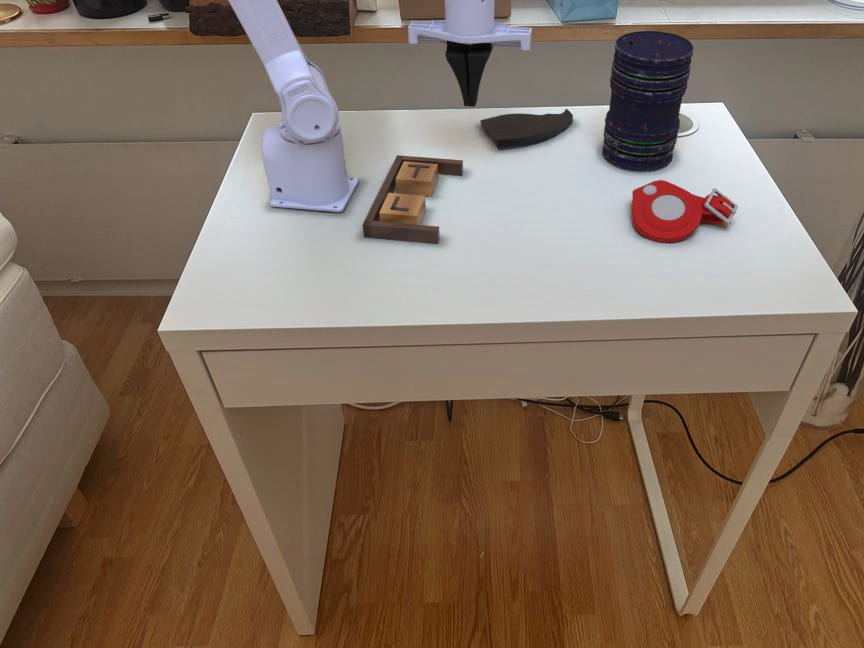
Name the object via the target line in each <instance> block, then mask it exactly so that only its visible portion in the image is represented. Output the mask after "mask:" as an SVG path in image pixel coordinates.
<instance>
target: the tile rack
mask: <svg viewBox="0 0 864 648" xmlns="http://www.w3.org/2000/svg"><path fill="white" fill-rule="evenodd" d="M404 161H406V162H419V163H432V164H438V175H445V176H446V175H447V176H459V177H462V176H463V174H464V160H463V159H452V158H439V157H438V158H437V157H425V156H412V155H401V154H400V155H399V154H397V155H396V156H395V158H394V160H393V162H392V164H391V166H390V168H389V170H388V173H387V174H386V176H385V178H384V180H383V182H382V184H381V186H380V187H379V191H378V193H377V195H376V196H375V198H374V200H373V203H372V205H371V206H370V208H369V210H368V212H367V215H366V216H365V218H364V221H363V223H362V232H363V237H364V238H368V239H369V238H370V239H378V240H379V239H380V240H391V241H402V242H413V243H422V244H423V243H424V244H435V245H438V244H439V242H440V226H438V225H437V226H436V225H425V224H421V225H416V224H404V223H393V222H381V221H380V215H379V212H380V210H381V208H382V206H383V204H384V202H385V200H386V198H387V195H388V193H395V190H396V177H397V175H398V173H399V170H400V168H401V166H402V164H403V162H404Z"/></svg>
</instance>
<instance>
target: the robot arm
mask: <svg viewBox="0 0 864 648" xmlns="http://www.w3.org/2000/svg"><path fill="white" fill-rule="evenodd" d="M227 1H228V3H229V4H230V6H231V8H232V10H233V12H234V13H235V15H236V17H237V19H238V21H239V22H240V24H241V26H242V28H243V30H244V32H245V34H246V36H247V37H248V39H249V41H250V43H251V44H252V47H253V48H254V50H255V52H256V54H257V55H258V57H259V59H260V61H261V63H262V65H263V67H264V69H265V71H266V73H267V75H268V78H269V80H270V83H271V85H272V87H273V90H274V94H275V97H276V99H277V101H278V104H279V107H280V111H281V114H282V116H281V117H282V118H281V122H280V123H279V124H272V125H269V126H268V127H267V128H266V129H265V131H264V134H263V136H262V142H261V156H262V163H263V166H264V172H265V175H266V179H267V184H268V188H269V189H268V190H269V193H270V198H271V200H270V201H269V206H270V207H274V208H285V209H297V210H307V211H317V212H318V211H320V212H331V213H342V212H343V211H344V210H345V209H346V206H347V205H348V203H349V201H350V199H351V197H352V195H353V194H354V192H355V190H356V188H357V186H358V185H359V183H360V178H359V177H355V176H348V169H347V163H346V156H345V149H344V148H345V147H344V142H343V141H344V140H343V135H342V134H343V133H342V127H341V121H340V110H339V107H338V105H337V102H336V100H335V99H334V98H333V96H332V94H331V92H330V89H329V87H328V84H327V79H326V76H325V74H324V73H323V71H322V70H321V68H319V66H317V65H316V64H315V63H313V62H312V60H310V59H308V57H307V55H306V54H305V52H304V50H303V48H302V46H301V44H300V43H299V41H298V39H297V37H296V35H295V34H294V31H293V30H292V27H291V25H290V23H289V22H288V19H287V18H286V15H285V13H284V12H283V9H282V8H281V5H280V4H279V1H278V0H227ZM407 34H408V44H412V45H418V44H419V43H428V44H429V43H432V44H446V50H445V53H444V55H445V59H446V61H447V63H448V65H449V66H450V68H451V70H452V72H453V74H454V76H455V78H456V80H457V83H458V86H459V90H460V93H461V97H462V101H463V106H464V107H472V108H475V107H476V105H477V102H478V98H479V89H480V86H481V85H480V84H481V81H482V78H483V75H484V71H485V68H486V65H487V63H488V61H489V58H490V56H491V54H492V51H493V48H494V47H499V48H517V49H520V50H521V51H530V50H531V47H532V42H533V41H532V40H533V28H532V27H526V26H525V27H524V26H517V25H511V24H508V23H502V22H496V21H495V0H444V19H442V20H440V19H439V20H426V21H425V20H424V21H415V20H414V21H413V20H412V21H410V23H409V25H408V26H407Z"/></svg>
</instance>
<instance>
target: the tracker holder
mask: <svg viewBox="0 0 864 648" xmlns="http://www.w3.org/2000/svg"><path fill="white" fill-rule="evenodd" d="M631 200H632V202H631V209H630V211H631V219H632V223H633V226H634V228H635V230H636V231H637V232H638V233H639V234H640V235H641V236H643V237H644V238H646V239H648V240H651V241H653V242H657V243H675V242H676V243H677V242H680V241H682V240H684V239H686V238H688V237H690V236H691V235H692V234H694V232H695V231H696V229H697V228H698V226H699V225H700V223H706V224H713V225H714V224H715V225H720V224H721V225H722V224H727V225H729V224H731V223H732V222H731V221H732V219H733V218H734V216H735V215H736V214H737V210H738V207H739V205H738V204H737V203H735V202H734V201H733V200H731V199H730V198H729V197H727V196H726V195H725V194H723V193H722V192H721V191H719V190H718V189H717V188H716V187H714V188H712V190H711V192H710V193H709V194H707V195H706V196H705V197H703V196H699V195H696V194H693V193H692V192H690V191H688V190H686V189H685V188H683V187H681V186H678V185H676V184H674V183H671V182H669V181H667V180H664V179H658V180H653V181H651V182H649V183H647V184H644V185H642V186H640V187H637V188H635V189H633V190H632V199H631Z"/></svg>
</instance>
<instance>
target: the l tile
mask: <svg viewBox="0 0 864 648" xmlns="http://www.w3.org/2000/svg"><path fill="white" fill-rule="evenodd" d="M426 212H427V204H426V196H421V195H409V194H397V192H393V193H388V195H387V198H386V200H385V202H384V204H383V206H382V208H381V210H380V212H379V215H380V221H381V222H393V223H404V224H416V225H422V223H423V220H424V217H425V215H426Z"/></svg>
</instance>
